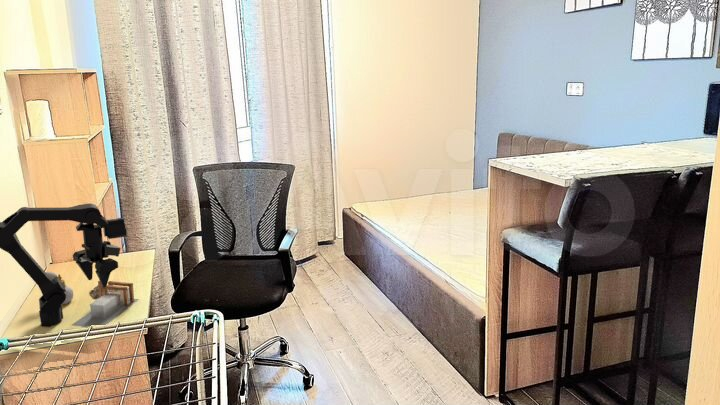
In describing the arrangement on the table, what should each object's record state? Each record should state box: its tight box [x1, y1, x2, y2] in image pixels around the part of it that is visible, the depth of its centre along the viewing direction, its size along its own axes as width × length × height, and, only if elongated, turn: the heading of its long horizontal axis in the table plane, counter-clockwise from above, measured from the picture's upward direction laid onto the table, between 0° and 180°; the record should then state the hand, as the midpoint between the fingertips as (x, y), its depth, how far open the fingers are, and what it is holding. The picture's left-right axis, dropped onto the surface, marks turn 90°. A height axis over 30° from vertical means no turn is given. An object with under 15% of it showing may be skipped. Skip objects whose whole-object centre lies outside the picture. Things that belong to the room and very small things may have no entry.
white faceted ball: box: [45, 271, 74, 306], centre depth 185 cm, size 8×10×12 cm
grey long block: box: [89, 287, 130, 319], centre depth 182 cm, size 15×5×5 cm, turn 172°
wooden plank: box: [97, 279, 103, 297], centre depth 188 cm, size 2×1×9 cm, turn 172°
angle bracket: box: [107, 280, 135, 302], centre depth 188 cm, size 1×9×7 cm, turn 82°
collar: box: [102, 284, 129, 306], centre depth 185 cm, size 1×9×7 cm, turn 82°
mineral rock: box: [88, 284, 109, 299], centre depth 195 cm, size 11×4×8 cm
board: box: [71, 298, 140, 328], centre depth 181 cm, size 22×11×1 cm, turn 172°
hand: (97, 283), depth 177 cm, fingers open, 9 cm apart
